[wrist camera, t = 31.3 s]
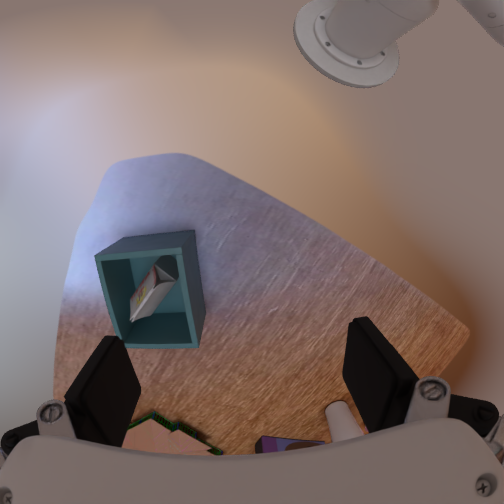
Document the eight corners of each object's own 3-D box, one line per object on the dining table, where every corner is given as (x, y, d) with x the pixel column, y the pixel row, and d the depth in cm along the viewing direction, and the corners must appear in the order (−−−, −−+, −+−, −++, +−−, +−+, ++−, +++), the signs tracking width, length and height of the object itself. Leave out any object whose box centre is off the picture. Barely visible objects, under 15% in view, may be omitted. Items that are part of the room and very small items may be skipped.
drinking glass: (350, 410, 52) (371, 457, 38) (322, 419, 52) (339, 469, 38) (348, 393, 50) (372, 443, 36) (319, 403, 51) (337, 456, 36)
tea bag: (184, 266, 40) (169, 294, 30) (161, 297, 41) (142, 330, 31) (165, 251, 39) (144, 275, 29) (142, 283, 40) (119, 313, 30)
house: (234, 447, 54) (235, 473, 46) (159, 474, 59) (155, 493, 51) (161, 403, 48) (153, 431, 41) (97, 438, 53) (89, 458, 45)
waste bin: (123, 237, 39) (94, 255, 29) (194, 229, 39) (181, 247, 30) (140, 315, 42) (120, 348, 33) (206, 312, 43) (199, 348, 33)
